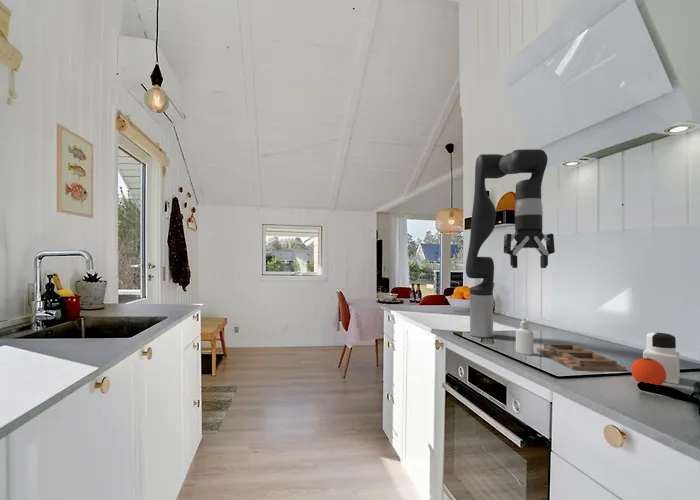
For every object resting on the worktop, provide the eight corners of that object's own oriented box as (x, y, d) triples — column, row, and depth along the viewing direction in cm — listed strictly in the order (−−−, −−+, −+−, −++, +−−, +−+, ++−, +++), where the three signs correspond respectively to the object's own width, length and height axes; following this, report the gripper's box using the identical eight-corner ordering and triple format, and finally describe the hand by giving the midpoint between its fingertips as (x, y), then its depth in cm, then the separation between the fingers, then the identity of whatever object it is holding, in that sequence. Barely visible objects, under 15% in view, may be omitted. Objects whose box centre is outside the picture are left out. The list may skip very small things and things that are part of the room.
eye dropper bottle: (527, 351, 129) (526, 316, 129) (535, 355, 123) (534, 319, 124) (514, 351, 129) (514, 316, 129) (522, 355, 123) (521, 319, 124)
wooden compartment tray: (536, 351, 129) (536, 344, 129) (580, 351, 129) (580, 344, 129) (572, 369, 107) (572, 361, 107) (625, 370, 107) (625, 361, 107)
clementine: (628, 379, 99) (628, 352, 99) (662, 383, 95) (661, 355, 96) (633, 387, 92) (633, 358, 92) (669, 392, 88) (669, 362, 89)
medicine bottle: (679, 378, 100) (678, 333, 100) (678, 384, 94) (677, 337, 95) (645, 372, 104) (645, 330, 105) (643, 378, 99) (642, 333, 100)
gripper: (546, 216, 116) (546, 267, 116) (500, 216, 117) (500, 267, 116) (558, 213, 109) (559, 268, 108) (509, 213, 109) (510, 268, 109)
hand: (529, 268), depth 112 cm, fingers open, 8 cm apart
